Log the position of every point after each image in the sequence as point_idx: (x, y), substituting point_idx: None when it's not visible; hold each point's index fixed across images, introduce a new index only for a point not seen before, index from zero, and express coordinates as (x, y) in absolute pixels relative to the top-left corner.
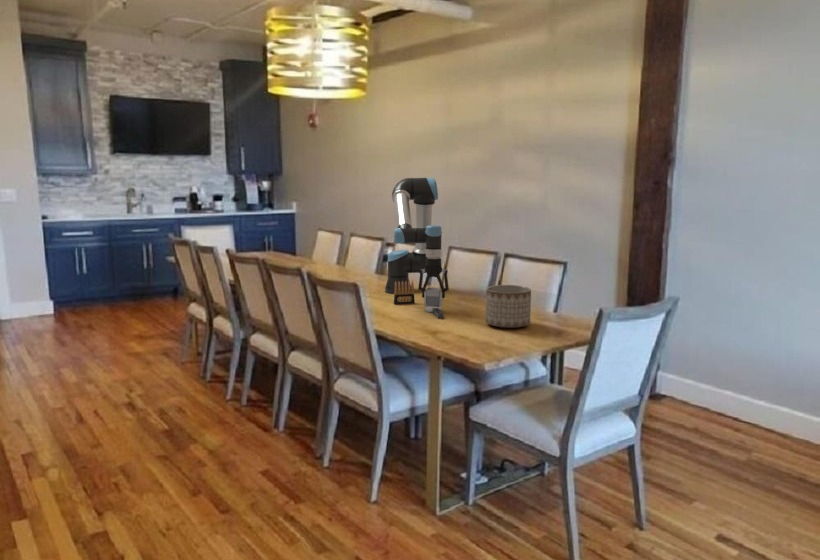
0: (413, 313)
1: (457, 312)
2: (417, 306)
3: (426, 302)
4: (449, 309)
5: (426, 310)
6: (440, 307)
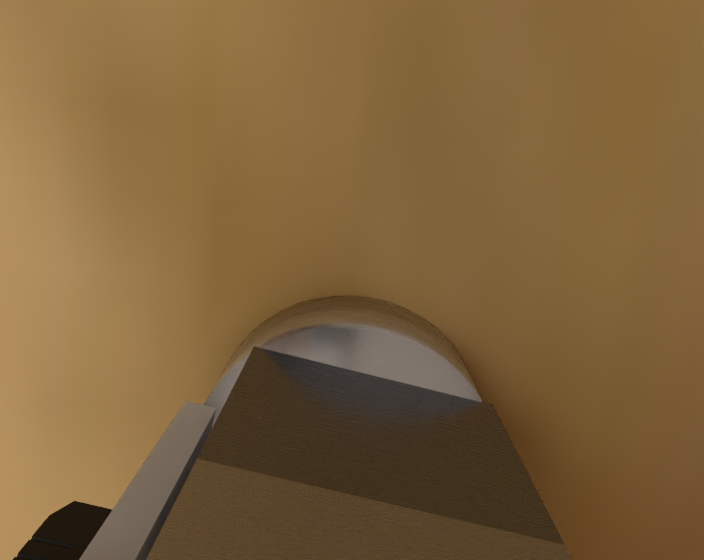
0: (35, 527)
1: (697, 531)
2: (92, 12)
3: None
4: (634, 325)
5: None
6: None
